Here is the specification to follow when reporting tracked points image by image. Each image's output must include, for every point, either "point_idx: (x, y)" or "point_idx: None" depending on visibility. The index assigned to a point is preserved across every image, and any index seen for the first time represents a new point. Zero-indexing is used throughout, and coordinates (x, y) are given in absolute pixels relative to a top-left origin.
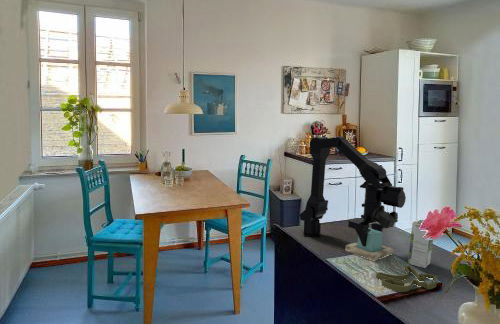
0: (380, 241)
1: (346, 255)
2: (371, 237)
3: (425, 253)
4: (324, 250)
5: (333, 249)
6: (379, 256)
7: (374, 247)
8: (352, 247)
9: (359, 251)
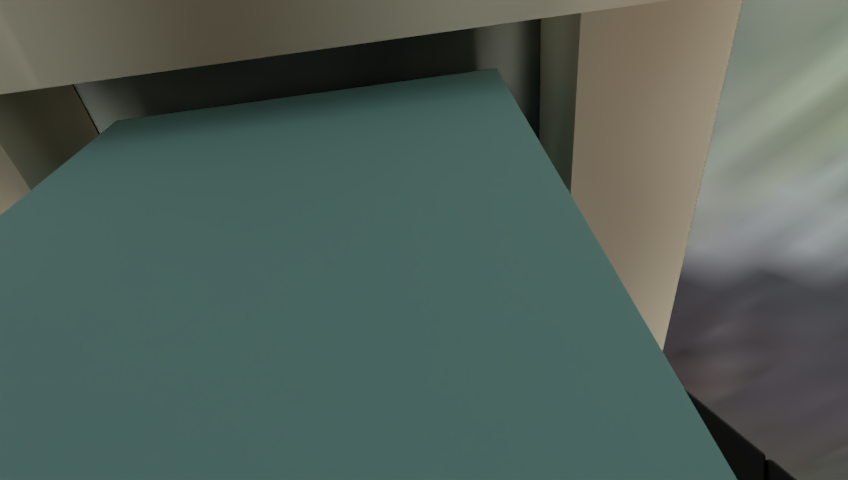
0: (47, 263)
1: (770, 262)
2: (675, 444)
3: None
4: (807, 436)
5: None
6: None
7: (391, 145)
8: None
9: (681, 220)
